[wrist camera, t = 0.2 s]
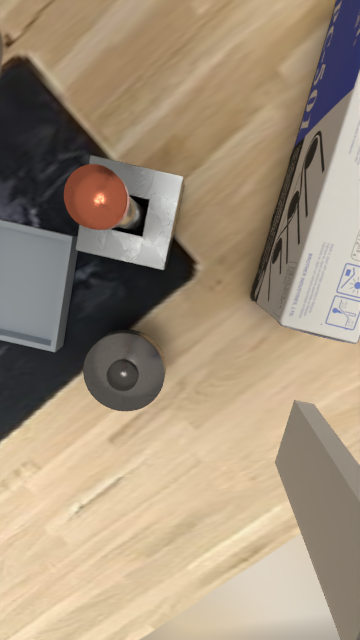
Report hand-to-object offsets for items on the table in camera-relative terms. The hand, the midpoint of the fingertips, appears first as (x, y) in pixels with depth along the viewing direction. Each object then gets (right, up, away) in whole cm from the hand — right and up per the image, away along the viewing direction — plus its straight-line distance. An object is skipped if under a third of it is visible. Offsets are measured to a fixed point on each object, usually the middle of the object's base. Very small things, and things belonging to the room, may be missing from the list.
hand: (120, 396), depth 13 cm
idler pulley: (-3, -1, +28) cm, 28 cm away
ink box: (+17, +19, +24) cm, 35 cm away
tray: (-16, +7, +27) cm, 32 cm away
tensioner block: (-3, +14, +25) cm, 29 cm away
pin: (-3, +14, +25) cm, 29 cm away
